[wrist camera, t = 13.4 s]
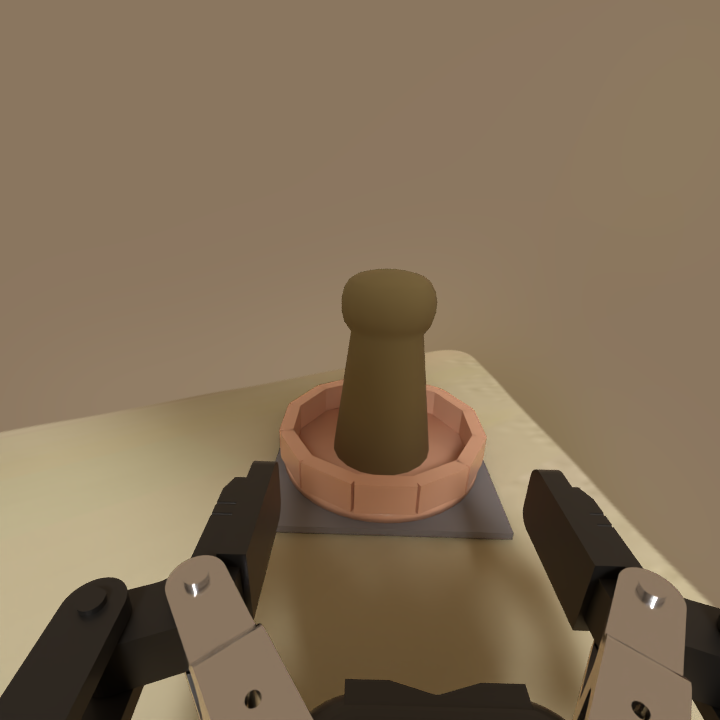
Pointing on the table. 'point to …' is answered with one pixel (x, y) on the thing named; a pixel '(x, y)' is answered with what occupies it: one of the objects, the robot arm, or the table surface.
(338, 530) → the mat
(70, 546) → the table surface
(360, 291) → the pepper mill
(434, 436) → the bowl
